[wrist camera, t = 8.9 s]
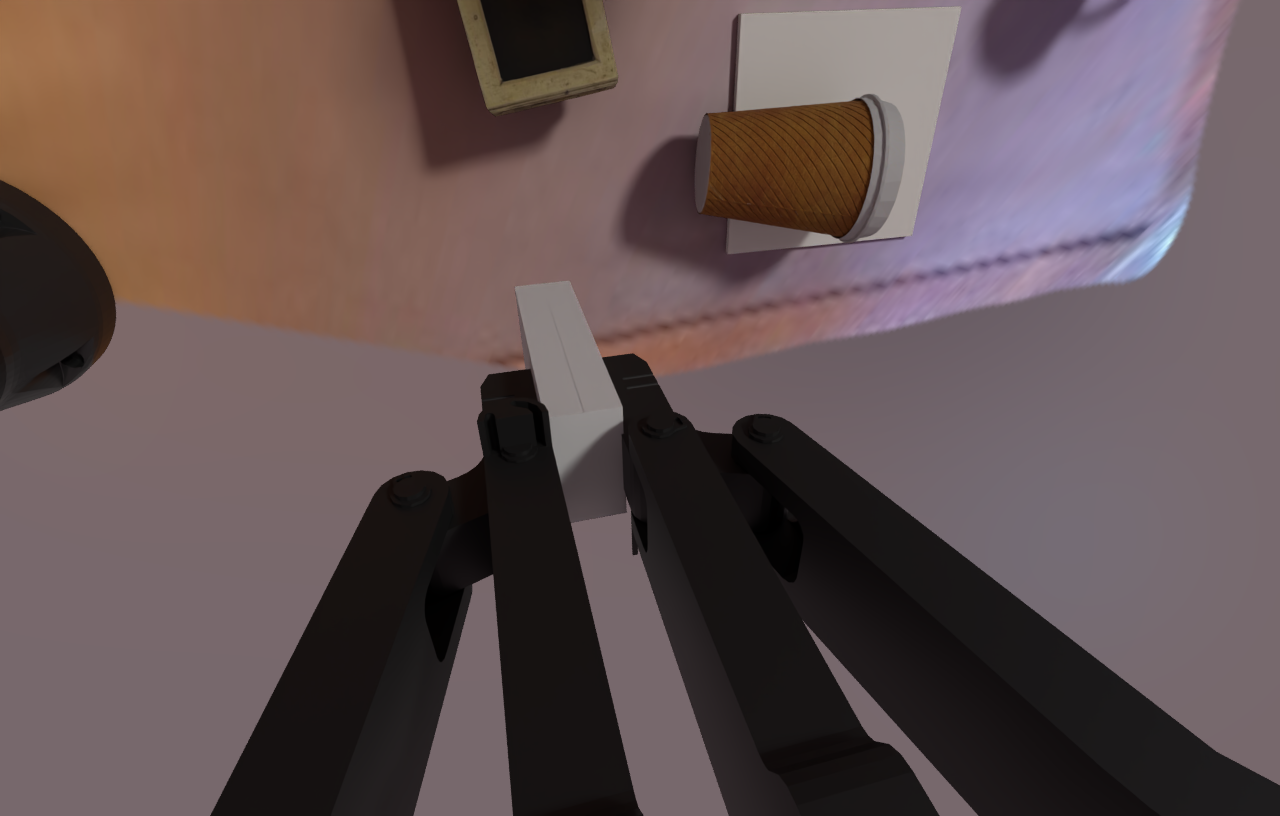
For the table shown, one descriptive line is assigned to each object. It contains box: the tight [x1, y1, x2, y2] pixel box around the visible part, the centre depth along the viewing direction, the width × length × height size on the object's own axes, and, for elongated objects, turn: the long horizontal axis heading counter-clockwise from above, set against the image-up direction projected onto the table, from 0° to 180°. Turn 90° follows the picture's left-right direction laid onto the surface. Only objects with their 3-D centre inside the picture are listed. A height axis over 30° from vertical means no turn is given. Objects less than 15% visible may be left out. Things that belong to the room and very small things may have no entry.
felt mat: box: [726, 7, 961, 254], centre depth 47 cm, size 16×16×1 cm
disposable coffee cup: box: [695, 94, 905, 243], centre depth 43 cm, size 10×10×12 cm
